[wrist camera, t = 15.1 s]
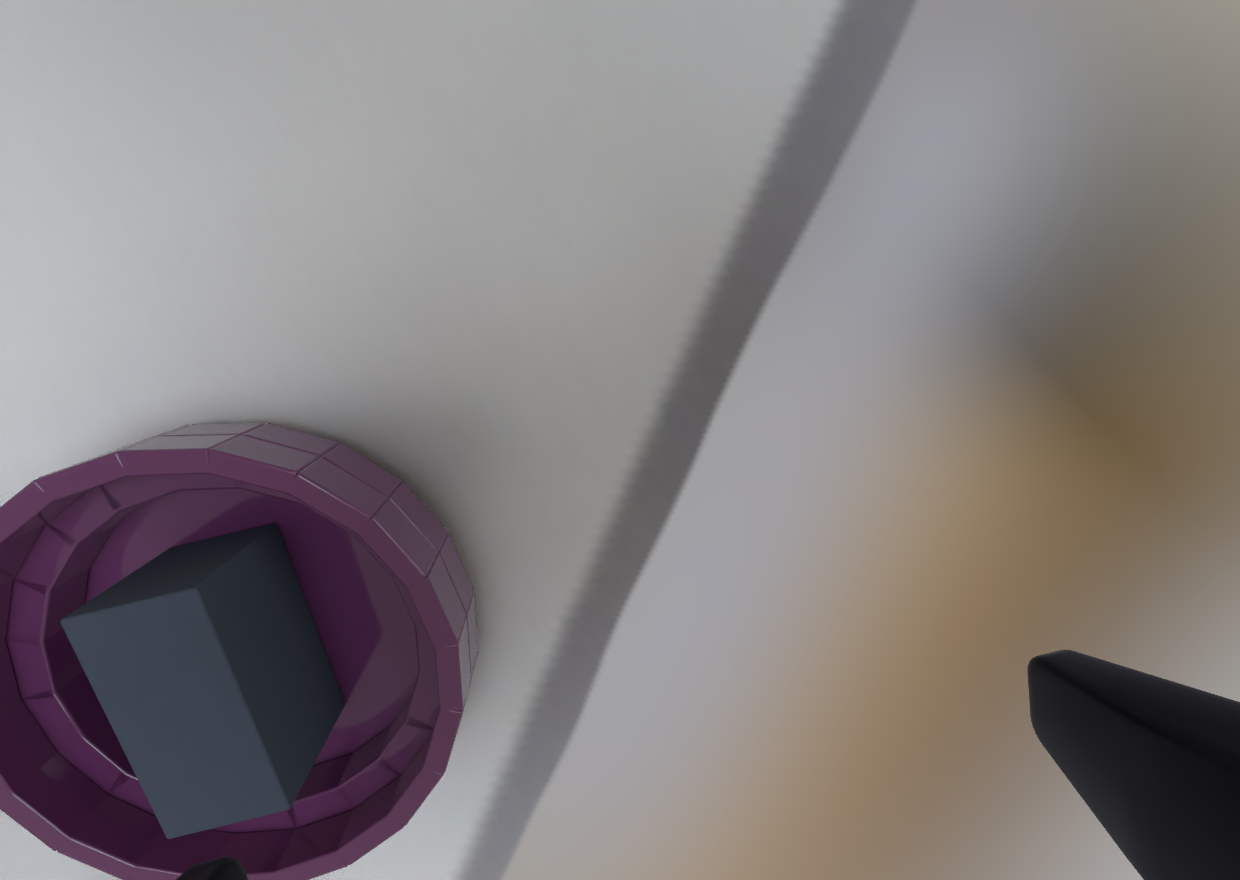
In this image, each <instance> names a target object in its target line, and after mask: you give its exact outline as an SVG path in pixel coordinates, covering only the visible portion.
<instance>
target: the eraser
mask: <svg viewBox="0 0 1240 880" xmlns="http://www.w3.org/2000/svg"><path fill="white" fill-rule="evenodd" d="M60 622H61V625H62V627H63V629H64V631H65V633H66V635H67V637H68V639H69V641H70V643H71V645H72V647H73V649H74V651H75V653H76V655H77V657H78V659H79V662H80V664H81V666H82V668H83V670H84V672H85V674H86V676H87V678H88V680H89V682H90V684H91V686H92V688H93V690H94V692H95V694H96V696H97V698H98V700H99V702H100V704H101V706H102V708H103V710H104V712H105V714H106V716H107V718H108V720H109V722H110V724H111V726H112V728H113V730H114V732H115V734H116V736H117V738H118V741H119V743H120V745H121V747H122V749H123V751H124V753H125V755H126V757H127V759H128V761H129V763H130V765H131V767H132V769H133V771H134V773H135V775H136V777H137V779H138V781H139V783H140V785H141V787H142V789H143V791H144V793H145V795H146V797H147V799H148V801H149V803H150V805H151V807H152V809H153V811H154V813H155V815H156V818H157V820H158V822H159V824H160V826H161V828H162V830H163V832H164V834H165V836H166V838H167V839H172V838H176V837H180V836H184V835H188V834H192V833H196V832H200V831H204V830H208V829H213V828H217V827H221V826H225V825H229V824H233V823H237V822H241V821H245V820H249V819H253V818H257V817H261V816H265V815H269V814H273V813H277V812H282V811H286V810H288V809H290V808H291V806H292V804H293V802H294V800H295V799H296V797H297V795H298V793H299V791H300V789H301V787H302V785H303V784H304V782H305V780H306V778H307V776H308V774H309V772H310V770H311V768H312V767H313V765H314V763H315V761H316V759H317V757H318V755H319V753H320V751H321V750H322V748H323V746H324V744H325V742H326V740H327V738H328V736H329V735H330V733H331V731H332V729H333V727H334V725H335V723H336V721H337V719H338V718H339V716H340V714H341V712H342V710H343V708H344V706H345V702H344V699H343V697H342V694H341V691H340V689H339V686H338V684H337V681H336V678H335V676H334V673H333V670H332V668H331V665H330V663H329V660H328V657H327V655H326V652H325V649H324V647H323V644H322V642H321V639H320V636H319V634H318V631H317V628H316V626H315V623H314V621H313V618H312V615H311V613H310V610H309V607H308V605H307V602H306V600H305V597H304V594H303V592H302V589H301V587H300V584H299V581H298V579H297V576H296V573H295V571H294V568H293V566H292V563H291V560H290V558H289V555H288V552H287V550H286V547H285V545H284V542H283V539H282V537H281V534H280V531H279V529H278V526H277V524H276V523H272V524H268V525H264V526H259V527H255V528H251V529H247V530H242V531H238V532H234V533H230V534H225V535H221V536H217V537H213V538H208V539H204V540H200V541H196V542H191V543H187V544H183V545H179V546H174V547H170V548H169V549H167V550H166V551H164V552H163V553H161V554H160V555H158V556H157V557H155V558H154V559H152V560H151V561H149V562H148V563H146V564H145V565H143V566H142V567H140V568H139V569H137V570H136V571H134V572H133V573H131V574H130V575H128V576H126V577H125V578H123V579H122V580H120V581H119V582H117V583H116V584H114V585H113V586H111V587H110V588H108V589H107V590H105V591H104V592H102V593H101V594H99V595H98V596H96V597H95V598H93V599H92V600H90V601H89V602H87V603H85V604H84V605H82V606H81V607H79V608H78V609H76V610H75V611H73V612H72V613H70V614H69V615H67V616H66V617H64V618H63V619H61V621H60Z"/></svg>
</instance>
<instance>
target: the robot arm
mask: <svg viewBox="0 0 1240 880" xmlns="http://www.w3.org/2000/svg"><path fill="white" fill-rule="evenodd" d="M1028 686H1029V700H1030V715H1031V721H1032V725H1033V728H1034V730H1035V733H1036V735H1037V736H1038V738H1039V740H1040V742H1041V743H1042V745H1043V746H1044V747H1045V749H1046V750H1047V751H1048V753H1049V754H1050V755H1051V757H1052V758H1053V759H1054V760H1055V762H1056V763H1057V765H1058V766H1059V767H1060V769H1061V770H1062V771H1063V773H1064V774H1065V775H1066V777H1067V778H1068V779H1069V781H1070V782H1071V784H1072V785H1073V786H1074V788H1075V789H1076V790H1077V792H1078V793H1079V794H1080V796H1081V797H1082V798H1083V800H1084V801H1085V802H1086V804H1087V805H1088V806H1089V807H1090V809H1091V810H1092V812H1093V813H1094V814H1095V816H1096V817H1097V818H1098V820H1099V821H1100V822H1101V824H1102V825H1103V826H1104V828H1105V829H1106V831H1107V832H1108V833H1109V834H1110V836H1111V837H1112V839H1113V840H1114V841H1115V843H1116V844H1117V845H1118V847H1119V848H1120V849H1121V851H1122V852H1123V853H1124V855H1125V856H1126V857H1127V859H1128V860H1129V861H1130V862H1131V864H1132V865H1133V866H1134V868H1135V869H1136V870H1137V871H1138V873H1139V874H1140V875H1141V877H1142V878H1143V879H1144V880H1240V702H1237V701H1234V700H1231V699H1227V698H1224V697H1221V696H1218V695H1215V694H1211V693H1208V692H1205V691H1202V690H1198V689H1195V688H1191V687H1189V686H1185V685H1182V684H1179V683H1175V682H1172V681H1169V680H1166V679H1162V678H1159V677H1156V676H1153V675H1149V674H1146V673H1143V672H1140V671H1137V670H1133V669H1130V668H1127V667H1124V666H1120V665H1117V664H1114V663H1110V662H1107V661H1104V660H1101V659H1098V658H1095V657H1091V656H1088V655H1085V654H1082V653H1078V652H1075V651H1071V650H1059V651H1055V652H1051V653H1047V654H1043V655H1039V656H1036V657H1034V658H1032V659H1031V660H1030V662H1029V664H1028ZM176 880H249V879H248V877H247V875H246V873H245V871H244V868H243V866H242V864H241V863H240V861H238V860H237V859H236V858H234V857H223V858H219V859H215V860H211V861H207V862H203V863H199V864H197V865H194V866H192V867H191V868H189V869H188V870H187V871H185V872H184V873H183V874H182V875H181V876H180V877H178V878H177V879H176Z"/></svg>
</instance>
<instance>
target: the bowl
mask: <svg viewBox="0 0 1240 880" xmlns="http://www.w3.org/2000/svg"><path fill="white" fill-rule="evenodd" d="M272 523H276V524H277V526H278V529H279V531H280V534H281V537H282V539H283V542H284V545H285V547H286V550H287V552H288V555H289V558H290V560H291V563H292V566H293V568H294V571H295V573H296V576H297V579H298V581H299V584H300V587H301V589H302V592H303V594H304V597H305V600H306V602H307V605H308V607H309V610H310V613H311V615H312V618H313V621H314V623H315V626H316V628H317V631H318V634H319V636H320V639H321V642H322V644H323V647H324V649H325V652H326V655H327V657H328V660H329V663H330V665H331V668H332V670H333V673H334V676H335V678H336V681H337V684H338V686H339V689H340V691H341V694H342V697H343V699H344V702H345V706H344V708H343V710H342V712H341V714H340V716H339V718H338V719H337V721H336V723H335V725H334V727H333V729H332V731H331V733H330V735H329V736H328V738H327V740H326V742H325V744H324V746H323V748H322V750H321V751H320V753H319V755H318V757H317V759H316V761H315V763H314V765H313V767H312V768H311V770H310V772H309V774H308V776H307V778H306V780H305V782H304V784H303V785H302V787H301V789H300V791H299V793H298V795H297V797H296V799H295V800H294V802H293V804H292V806H291V808H290V809H288V810H286V811H282V812H277V813H273V814H269V815H265V816H261V817H257V818H253V819H249V820H245V821H241V822H237V823H233V824H229V825H225V826H221V827H217V828H213V829H208V830H204V831H200V832H196V833H192V834H188V835H184V836H180V837H176V838H172V839H167V838H166V836H165V834H164V832H163V830H162V828H161V826H160V824H159V822H158V820H157V818H156V815H155V813H154V811H153V809H152V807H151V805H150V803H149V801H148V799H147V797H146V795H145V793H144V791H143V789H142V787H141V785H140V783H139V781H138V779H137V777H136V775H135V773H134V771H133V769H132V767H131V765H130V763H129V761H128V759H127V757H126V755H125V753H124V751H123V749H122V747H121V745H120V743H119V741H118V738H117V736H116V734H115V732H114V730H113V728H112V726H111V724H110V722H109V720H108V718H107V716H106V714H105V712H104V710H103V708H102V706H101V704H100V702H99V700H98V698H97V696H96V694H95V692H94V690H93V688H92V686H91V684H90V682H89V680H88V678H87V676H86V674H85V672H84V670H83V668H82V666H81V664H80V662H79V659H78V657H77V655H76V653H75V651H74V649H73V647H72V645H71V643H70V641H69V639H68V637H67V635H66V633H65V631H64V629H63V627H62V625H61V622H60V621H61V619H63V618H64V617H66V616H67V615H69V614H70V613H72V612H73V611H75V610H76V609H78V608H79V607H81V606H82V605H84V604H85V603H87V602H89V601H90V600H92V599H93V598H95V597H96V596H98V595H99V594H101V593H102V592H104V591H105V590H107V589H108V588H110V587H111V586H113V585H114V584H116V583H117V582H119V581H120V580H122V579H123V578H125V577H126V576H128V575H130V574H131V573H133V572H134V571H136V570H137V569H139V568H140V567H142V566H143V565H145V564H146V563H148V562H149V561H151V560H152V559H154V558H155V557H157V556H158V555H160V554H161V553H163V552H164V551H166V550H167V549H169V548H170V547H174V546H179V545H183V544H187V543H191V542H196V541H200V540H204V539H208V538H213V537H217V536H221V535H225V534H230V533H234V532H238V531H242V530H247V529H251V528H255V527H259V526H264V525H268V524H272ZM473 591H474V589H473V587H472V584H471V582H470V580H469V577H468V575H467V573H466V570H465V568H464V566H463V564H462V561H461V559H460V557H459V554H458V552H457V550H456V547H455V545H454V543H453V540H452V538H451V536H450V534H449V533H448V531H447V530H446V529H445V527H444V526H443V525H442V524H441V523H440V522H439V521H438V519H437V518H436V517H435V516H434V515H433V514H432V513H431V512H430V510H429V509H428V508H427V507H426V506H425V505H424V504H423V503H422V501H421V500H420V499H419V498H418V497H417V496H416V495H415V494H414V492H413V491H412V490H411V489H410V488H409V487H408V486H407V485H406V483H405V482H402V480H401V479H399V478H398V477H396V476H394V475H393V474H391V473H389V472H388V471H386V470H385V469H383V468H381V467H380V466H378V465H376V464H375V463H373V462H371V461H370V460H368V459H367V458H365V457H363V456H362V455H360V454H358V453H357V452H355V451H354V450H352V449H350V448H349V447H347V446H345V445H344V444H342V443H340V444H339V443H338V442H336V441H332V440H329V439H325V438H321V437H318V436H314V435H310V434H307V433H303V432H299V431H296V430H292V429H288V428H285V427H281V426H277V425H274V424H270V423H268V424H265V423H223V424H192V425H186V426H183V427H180V428H177V429H174V430H171V431H168V432H166V433H163V434H160V435H157V436H154V437H151V438H148V439H145V440H142V441H139V442H136V443H134V444H131V445H128V446H125V447H122V448H119V449H116V450H114V451H111V452H108V453H105V454H103V455H100V456H97V457H94V458H91V459H89V460H86V461H83V462H81V463H78V464H75V465H72V466H69V467H67V468H64V469H61V470H58V471H56V472H53V473H50V474H47V475H45V476H42V477H39V478H38V479H36V480H33V481H32V482H31V483H30V484H28V485H27V486H26V487H25V488H23V489H22V490H21V491H20V492H18V493H17V494H16V495H15V496H13V497H12V498H11V499H10V500H8V501H7V502H6V503H5V504H3V505H2V506H1V507H0V809H1V810H2V811H3V812H5V813H6V814H7V815H8V816H10V817H11V818H12V819H14V820H15V821H16V822H18V823H19V824H20V825H21V826H23V827H24V828H25V829H27V830H28V831H29V832H30V833H32V834H33V835H34V836H36V837H37V838H38V839H39V840H41V841H42V842H43V843H45V844H46V845H47V846H48V847H50V848H51V849H52V850H54V851H56V850H57V852H58V853H61V854H63V855H65V856H68V857H70V858H72V859H75V860H77V861H79V862H82V863H84V864H86V865H89V866H91V867H94V868H96V869H98V870H101V871H103V872H105V873H108V874H110V875H112V876H115V877H117V878H119V879H122V880H176V879H177V878H178V877H180V876H181V875H182V874H183V873H184V872H185V871H187V870H188V869H189V868H191V867H192V866H194V865H197V864H199V863H203V862H207V861H211V860H215V859H219V858H223V857H234V858H236V859H237V860H238V861H240V863H241V864H242V866H243V868H244V871H245V873H246V875H247V877H248V879H249V880H309V879H312V878H315V877H318V876H321V875H324V874H327V873H330V872H333V871H336V870H338V869H341V868H344V867H347V866H348V865H351V864H352V863H354V862H355V861H357V860H358V859H359V858H361V857H362V856H364V855H365V854H367V853H368V852H369V851H371V850H372V849H374V848H375V847H377V846H378V845H379V844H381V843H382V842H384V841H385V840H386V839H388V838H389V837H391V836H392V835H394V834H395V833H396V832H398V831H399V830H401V829H402V828H403V827H404V826H405V825H406V824H407V823H408V822H409V821H410V819H411V818H412V816H413V815H414V814H415V812H416V811H417V810H418V808H419V807H420V806H421V804H422V803H423V802H424V800H425V799H426V798H427V796H428V795H429V794H430V792H431V791H432V790H433V788H434V787H435V786H436V784H437V783H438V782H439V780H440V779H441V778H442V776H443V775H444V773H445V771H446V768H447V764H448V761H449V757H450V754H451V751H452V747H453V744H454V741H455V737H456V734H457V731H458V727H459V724H460V720H461V717H462V714H463V710H464V706H465V702H466V698H467V694H468V690H469V685H470V681H471V678H472V673H473V669H474V665H475V661H476V657H477V653H478V642H477V627H476V612H475V597H474V593H473Z"/></svg>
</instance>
